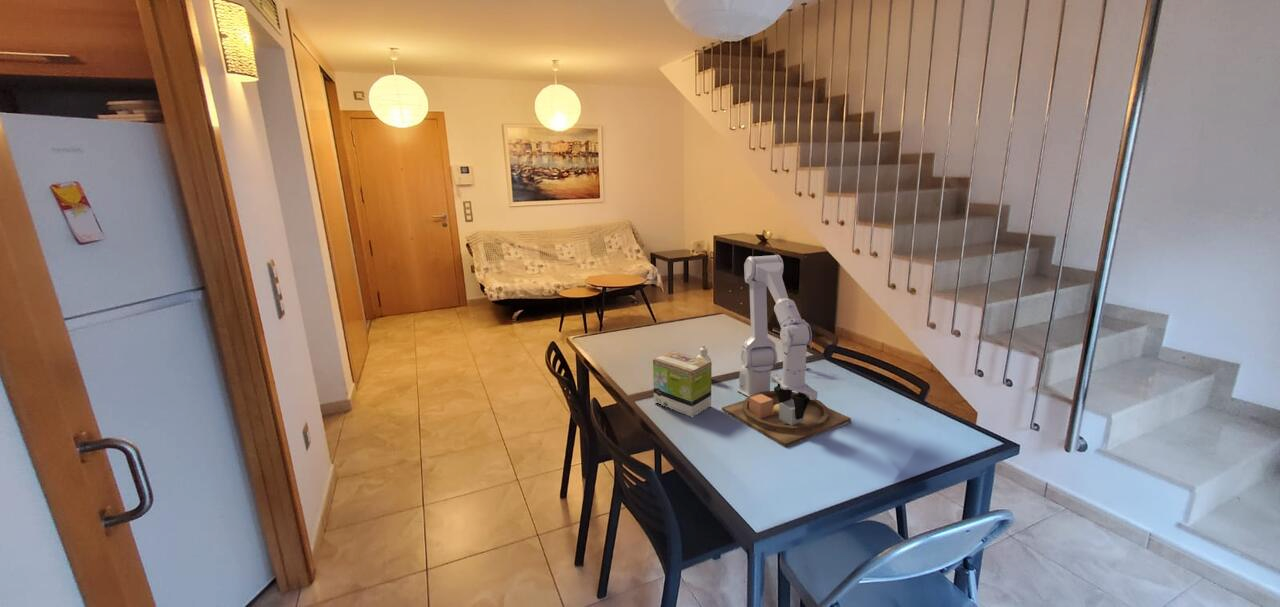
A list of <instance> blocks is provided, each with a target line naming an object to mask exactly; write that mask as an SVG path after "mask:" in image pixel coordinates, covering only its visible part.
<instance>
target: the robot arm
mask: <svg viewBox="0 0 1280 607" xmlns="http://www.w3.org/2000/svg"><path fill="white" fill-rule="evenodd" d="M743 267H744V268H743V270H744V272H743V273H744V274H743V275H744V282H745V284H748V285H749V310H750V311H749V312H750V336H749V337H748V338H747V339H746V340H745V341H744V342H743V343H742V346H741V354H740V360H741V364H742V366H741V367H740V370H739V380H738V381H739V382H738V383H739V386H738V387H739V388H737V390H736V391H737V392H738V393H739V394H742V395H744V396H746V397H747V398H748V397H749V396H750V395H753V394H757V393H760V392H766V391H771V383H776V384H777V385H776V386H774V387H773V391H775V393H776V394H777V397H778V399H779V402H780V403H782V402H785V401H788V400H790V398H791V393H792V392H795V393H798V394H797V395H794V396H792V398H793V400H794V405H795V417H796V419H797V420H798V419H801V418H803V415H804V412H805V409H806V407H807V405H808V403H809V402H810V400H814V399H817V400H818V390H816V389H813V387H811V386H810V385H808V383H806V367H807V366H806V365H807V364H806V363H807V350H808V349H807V348H808V347H807V346H808V345H810V342H811V343H812V337H813V333H812V328H811V325H810V324H809V323H808V322H806V320H805V319H804V318H803V319H802V317H801V314H800V313H799V310H798V307H797V305H796V303H795V301H794V300H793V299H790V298H789V296H788V293H787V289H786V286H785V282H784V280H783V273H784V261H783V258H782V257H781V255H779V254H774V255H773V254H772V255H762V256H759V255H758V256H751V255H750V256H748V257H747V258H746V259H745V262H744V264H743ZM767 289H768V290H769V292H770V295H771V296H772V298H773V300H774V302H775V305H774V306H773V311H774V313H775V317H776V319H777V321H778V324H779V326H780V332H779V337H780V341H781V351H783V358H782V375H780V374H778V373H774V374H772V375H771V373H772V370H773V369H774V366H775V365H777V363H778V357H779V356H778V352H777V347H776V342H775V341H773V340H772V339H771V338H769V336H768V332H769V330H768V304H767V301H768V300H767V299H768V298H767Z"/></svg>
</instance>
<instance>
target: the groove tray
mask: <svg viewBox="0 0 1280 607" xmlns="http://www.w3.org/2000/svg"><path fill="white" fill-rule="evenodd" d="M760 394H763V395H765V396H767V397H769V398H771V399H773V414H772V415H770V416H767V417H764V418H761V419H760V418H758V417H756V416H754V415H753V414H751V413H750V412H749V398H750V397H753V396H756V395H760ZM797 394H798V392H796V391H792V393H791V398H790V400H791V399H793V398H792V396H794V395H797ZM779 407H780V402H779V399H778V397H777V394H776V393H775V391H774V390H770V391H766V392H760V393H757V394H753V395H750V396H749V397H748V396H747V397H746V399H744V400H741V401H738V402H735V403H731V404H728V405H726V406H722V407H721V411H722V410H723V411H724V413H725V412H726V413H725V414H727V413H728V414H727V415H729V416H730V415H731V416H730V417H733V418H734V419H735V420H738V421H740V422H741V423H743V424H744V425H746V426H747V427H750V428H751V429H753V430H755V431H756V432H758V433H760V434H761V435H762V436H765V437H767V438H768V439H770V440H772V441H773V442H776V443H777V444H779V445H781V446H782V447H783V448H787V447H789V446H793V445H795V444H798V443H800V442H803V441H806V440H807V439H810V438H813V437H815V436H818V435H820V434H823V433H825V432H828V431H830V430H833V429H836V428H838V427H841V426H842V425H846V424H849V423H850V422H851V421H852V418H851V417H849V416H847V415H845V414H843V413H840V412H838V411H836V410H834V409H831V408H829V407H828V406H826V405H825V404H824V403H823V402H822V401H821V400H819V399H818V398H817V399H814V400H810V402H809V403H808V405H807V407H806V409H805V412H804V421H803V422H800V423H797V424H794V425H790V424H788V423H786V422H784V421H782V420H780V419H779ZM723 411H722V412H723Z"/></svg>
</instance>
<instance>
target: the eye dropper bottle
mask: <svg viewBox="0 0 1280 607" xmlns="http://www.w3.org/2000/svg"><path fill="white" fill-rule="evenodd" d="M696 358H700V359H703V360H707V361H710V362H712V360H711V357H710V355H708V348H707V347H706V345H705V344H702V346H701V347H700V349H699V354H698V355H697V356H696Z"/></svg>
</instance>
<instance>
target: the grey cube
mask: <svg viewBox="0 0 1280 607" xmlns="http://www.w3.org/2000/svg"><path fill="white" fill-rule="evenodd" d="M779 419H780V420H782V421H784V422H786V423H788V424H790V425H794V424H797V423H800V422H803V421H804V415H803V418H801V419H798V420H797V419H796V417H795V405H794V400H793V399H791V400H788V401H785V402H782V403H780V407H779Z"/></svg>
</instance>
